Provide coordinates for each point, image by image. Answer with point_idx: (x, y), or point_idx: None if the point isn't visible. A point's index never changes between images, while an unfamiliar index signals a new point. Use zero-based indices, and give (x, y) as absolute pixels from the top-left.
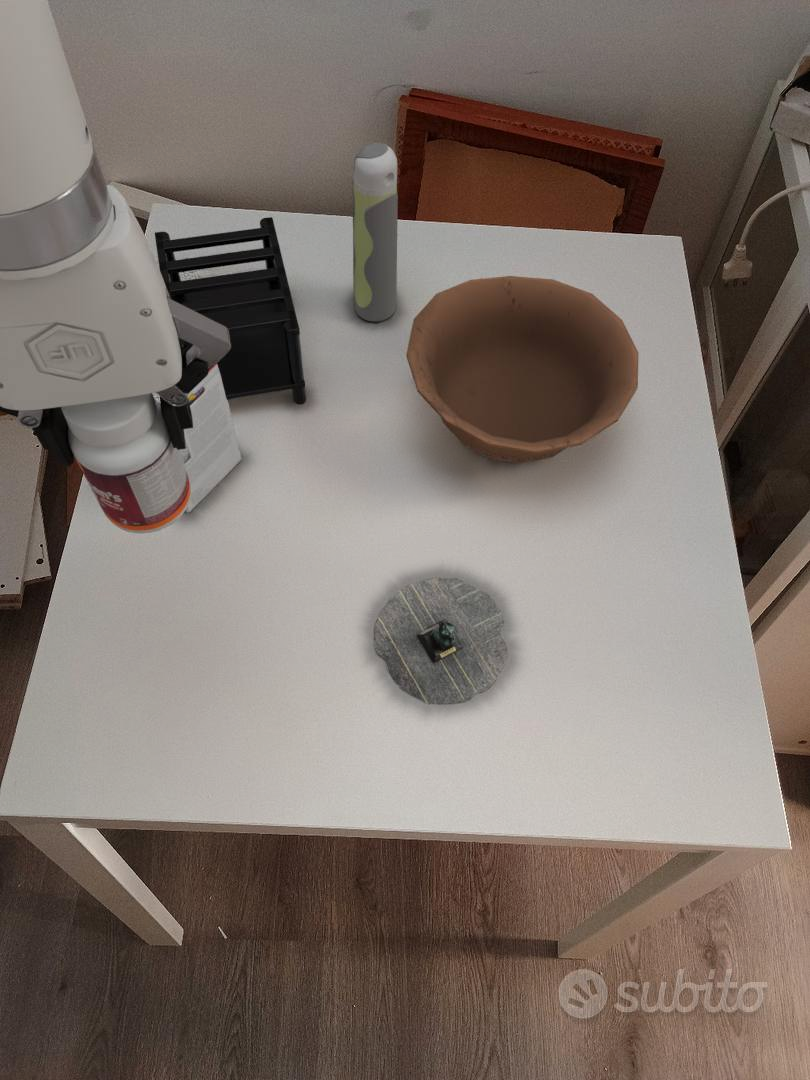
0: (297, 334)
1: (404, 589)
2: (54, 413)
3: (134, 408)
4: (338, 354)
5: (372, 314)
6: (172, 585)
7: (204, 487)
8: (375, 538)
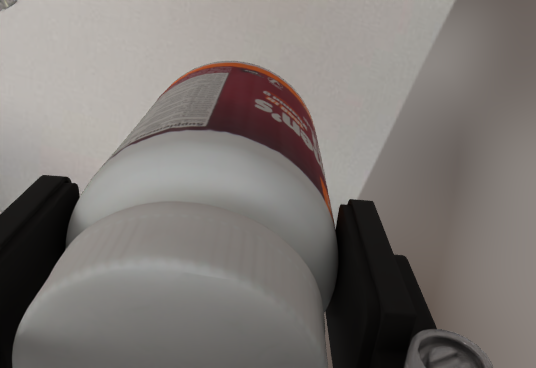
0: None
1: (1, 7)
2: (355, 358)
3: (59, 321)
4: None
5: None
6: None
7: None
8: (35, 87)
